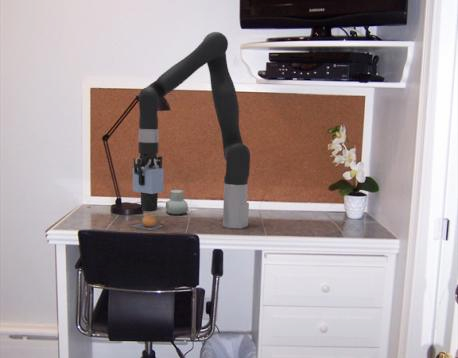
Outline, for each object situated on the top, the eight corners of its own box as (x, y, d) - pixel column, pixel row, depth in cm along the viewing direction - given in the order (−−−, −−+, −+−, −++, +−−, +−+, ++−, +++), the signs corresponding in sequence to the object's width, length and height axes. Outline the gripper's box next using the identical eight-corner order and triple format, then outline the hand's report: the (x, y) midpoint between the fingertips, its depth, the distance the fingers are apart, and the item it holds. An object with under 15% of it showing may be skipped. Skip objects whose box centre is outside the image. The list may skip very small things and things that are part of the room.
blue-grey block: (163, 191, 196) (163, 168, 195) (152, 193, 191) (152, 170, 189) (144, 188, 201) (144, 166, 200) (132, 191, 196) (132, 168, 194)
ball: (159, 216, 197) (150, 211, 200) (151, 218, 193) (141, 213, 195) (156, 228, 199) (147, 222, 201) (148, 230, 194) (138, 224, 197)
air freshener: (164, 211, 227) (165, 189, 225) (183, 210, 229) (183, 188, 228) (169, 216, 217) (170, 193, 215) (188, 215, 219) (189, 192, 218)
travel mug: (154, 212, 224) (154, 166, 221) (137, 210, 226) (138, 165, 223) (160, 208, 231) (160, 164, 228) (144, 207, 233) (144, 164, 230)
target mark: (164, 226, 199) (164, 226, 199) (151, 230, 192) (151, 230, 192) (144, 222, 204) (144, 222, 204) (131, 226, 197) (131, 226, 197)
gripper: (143, 142, 185) (143, 187, 187) (168, 140, 197) (167, 183, 200) (127, 141, 189) (127, 185, 191) (153, 139, 201) (152, 181, 203)
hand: (148, 184), depth 195 cm, fingers closed on blue-grey block, 6 cm apart
